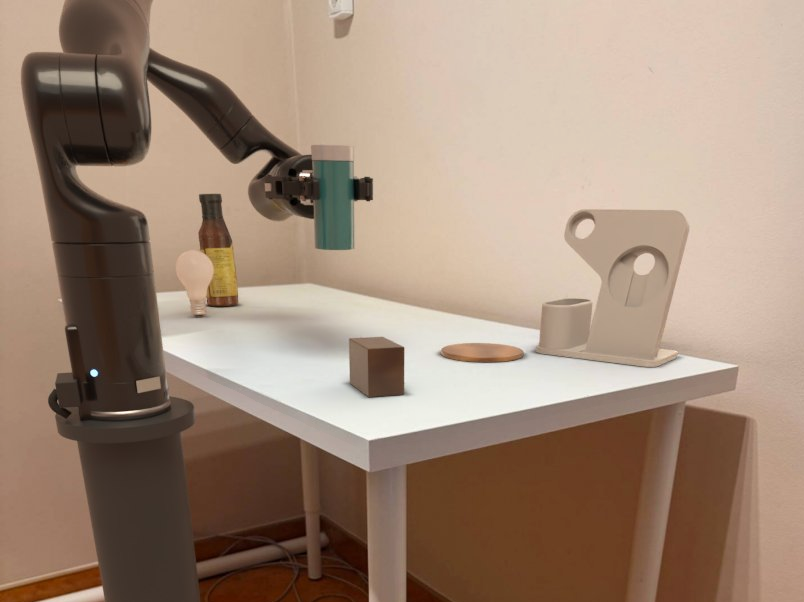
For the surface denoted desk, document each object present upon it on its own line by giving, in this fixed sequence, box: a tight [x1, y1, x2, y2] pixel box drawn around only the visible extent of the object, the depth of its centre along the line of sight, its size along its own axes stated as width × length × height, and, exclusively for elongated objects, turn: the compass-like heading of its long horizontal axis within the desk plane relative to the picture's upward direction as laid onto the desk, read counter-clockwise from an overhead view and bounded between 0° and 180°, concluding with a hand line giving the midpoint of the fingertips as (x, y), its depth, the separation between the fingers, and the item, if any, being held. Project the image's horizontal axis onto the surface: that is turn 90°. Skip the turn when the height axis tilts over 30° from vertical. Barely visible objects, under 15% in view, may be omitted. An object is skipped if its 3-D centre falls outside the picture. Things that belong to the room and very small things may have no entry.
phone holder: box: [535, 208, 690, 368], centre depth 99 cm, size 17×10×18 cm, turn 53°
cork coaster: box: [440, 342, 524, 363], centre depth 102 cm, size 11×11×1 cm
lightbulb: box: [174, 249, 214, 318], centre depth 131 cm, size 6×6×11 cm
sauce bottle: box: [198, 193, 239, 307], centre depth 144 cm, size 6×6×20 cm
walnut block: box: [348, 336, 405, 398], centre depth 82 cm, size 4×7×5 cm, turn 20°
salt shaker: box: [310, 144, 356, 251], centre depth 89 cm, size 5×11×11 cm
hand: (339, 189), depth 86 cm, fingers closed on salt shaker, 4 cm apart
